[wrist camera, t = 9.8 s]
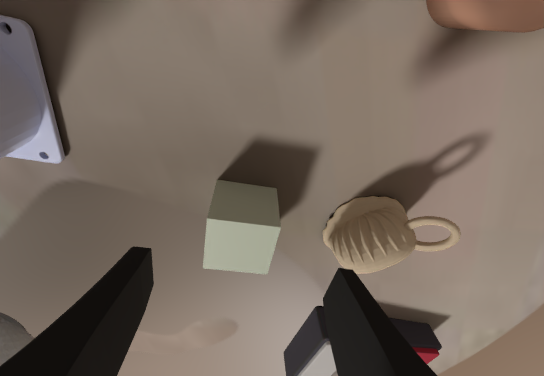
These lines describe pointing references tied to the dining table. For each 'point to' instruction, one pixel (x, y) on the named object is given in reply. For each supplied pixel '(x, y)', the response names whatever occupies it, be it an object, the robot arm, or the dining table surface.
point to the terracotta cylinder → (488, 14)
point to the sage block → (241, 228)
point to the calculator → (318, 354)
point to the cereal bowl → (11, 337)
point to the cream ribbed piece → (379, 234)
